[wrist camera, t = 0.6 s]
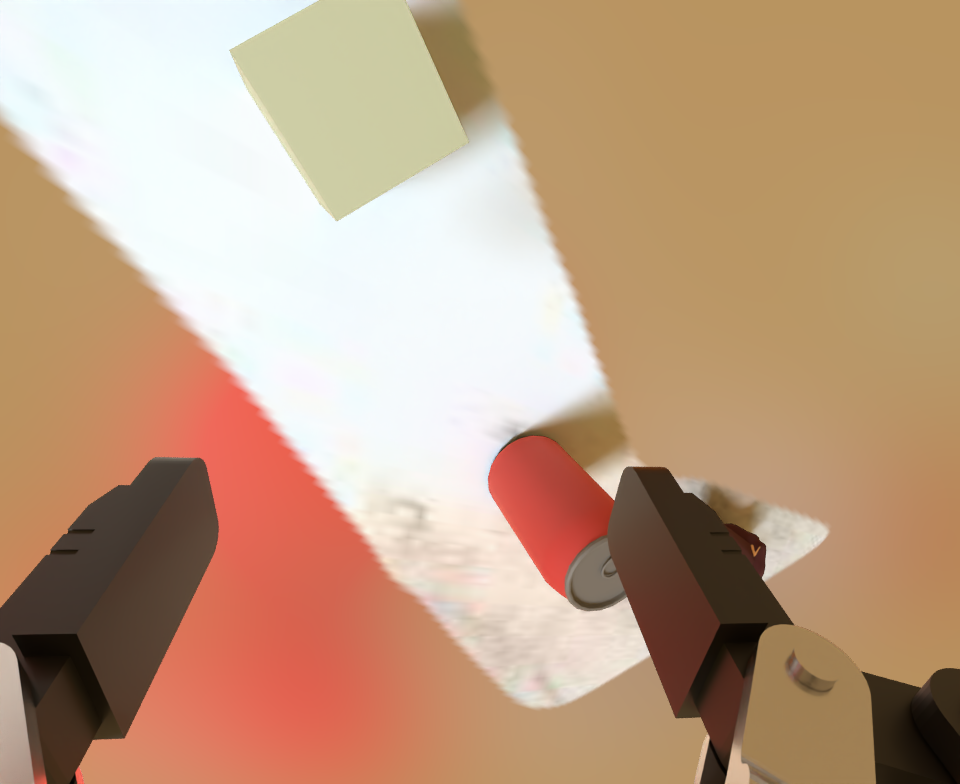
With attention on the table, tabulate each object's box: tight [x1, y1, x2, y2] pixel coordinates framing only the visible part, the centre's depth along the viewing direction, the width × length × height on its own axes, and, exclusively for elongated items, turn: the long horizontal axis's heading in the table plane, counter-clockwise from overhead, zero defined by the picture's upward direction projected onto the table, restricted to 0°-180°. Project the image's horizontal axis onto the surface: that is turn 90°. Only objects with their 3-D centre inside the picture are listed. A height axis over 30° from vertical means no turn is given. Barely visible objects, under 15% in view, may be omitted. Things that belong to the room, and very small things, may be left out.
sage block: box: [229, 0, 469, 221], centre depth 22 cm, size 6×6×10 cm
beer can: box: [488, 435, 627, 611], centre depth 35 cm, size 7×7×12 cm
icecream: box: [724, 524, 766, 578], centre depth 48 cm, size 7×7×15 cm
